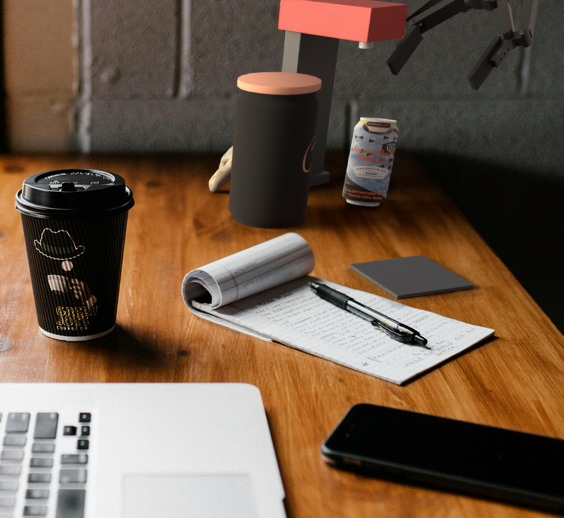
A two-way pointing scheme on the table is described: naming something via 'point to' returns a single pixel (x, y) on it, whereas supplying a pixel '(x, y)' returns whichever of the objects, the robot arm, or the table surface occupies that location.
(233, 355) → the table surface
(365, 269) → the mat
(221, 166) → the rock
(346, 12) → the coffee maker
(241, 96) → the coffee jar
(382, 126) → the beverage can
